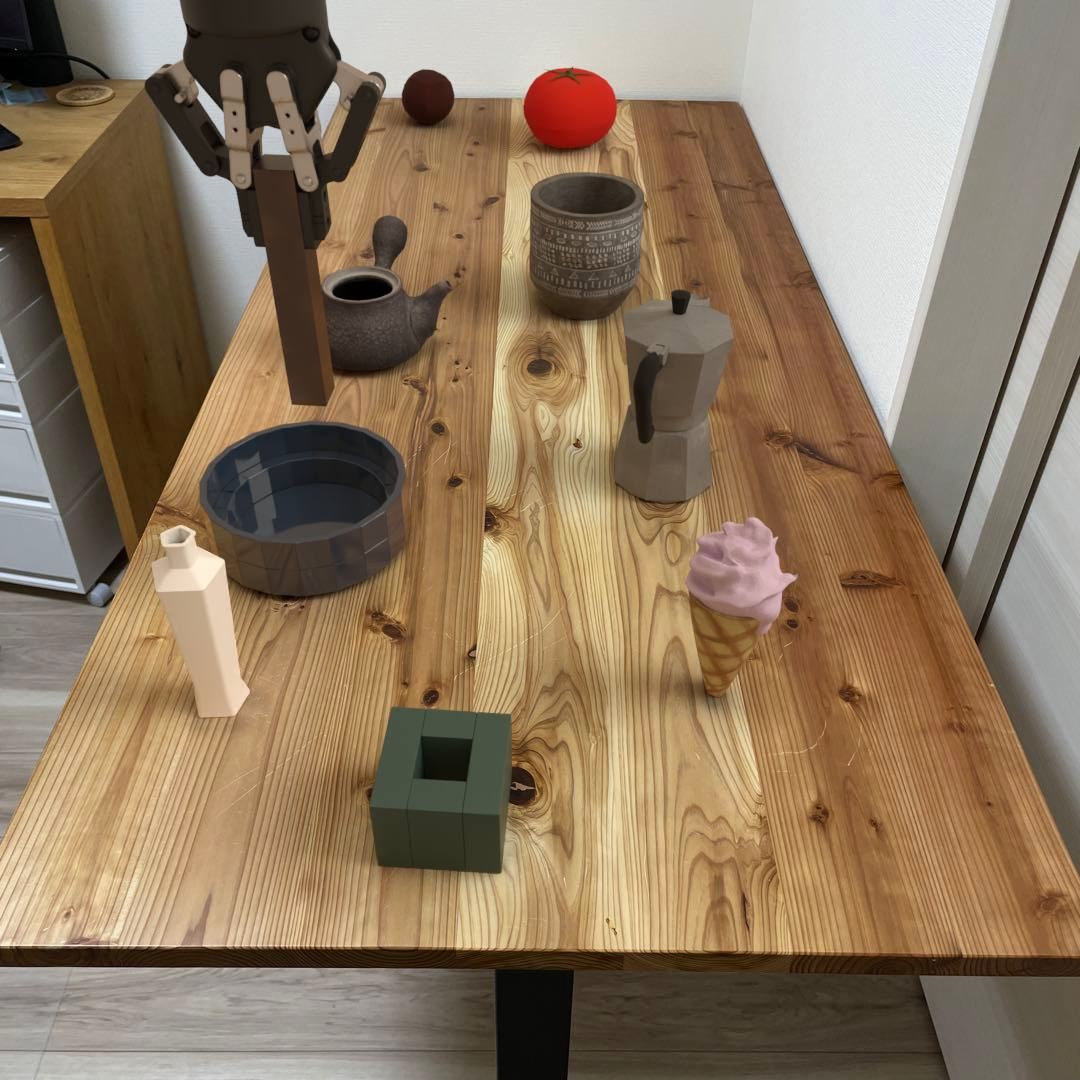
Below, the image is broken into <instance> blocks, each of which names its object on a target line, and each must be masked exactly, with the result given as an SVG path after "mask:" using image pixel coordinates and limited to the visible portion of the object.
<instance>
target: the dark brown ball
mask: <svg viewBox="0 0 1080 1080" xmlns="http://www.w3.org/2000/svg"><path fill="white" fill-rule="evenodd" d="M401 103H402V107H403V110H404V111H405V113H406V114H407V115H408V116H409V117H410V118H411V119H413V120H414V121H416V122H419V123H424V124H428V125H430V124H436V123H439V122H441V121H444V120H445V119H446V118H447V117H448V116H449V115H450V113H451V111H452V109H453V107H454V104H455V91H454V87H453V84H452V82H451V81H450V79H449V78H448V77H447V76H446V75H445V74H443V73H442V72H438V71H437V70H434V69H430V68H429V69H424V68H423V69H419V70H417V71H415V72H413V73H412V74H411V75H410V76H409V77H408V78H407V79H406V81H405V82H404V84H403V88H402V91H401Z"/></svg>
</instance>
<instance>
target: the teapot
mask: <svg viewBox="0 0 1080 1080" xmlns="http://www.w3.org/2000/svg"><path fill="white" fill-rule="evenodd" d="M408 233H409V231H408V226H407V225H406V223H405V222H404V221H403V220H402V219H401V218H399V217H397V216H394V215H389V214H388V215H383V216H381V217H379V218H377V219H376V221H375V223H374V224H373V229H372V234H371V242H372V249H373V252H374V253H373V254H374V264H373V265H355V266H348V267H346V268H342V269H338V270H336V271H333V272H332V273H330V274H328V275H327V276H326V277H325V278H324V279H323V280H322V282H321V289H322V297H323V304H324V311H325V319H326V326H327V334H328V341H329V348H330V356H331V363H332V367H334V368H337V369H341V370H342V369H343V370H349V371H379V370H383V369H388V368H392V367H395V366H398V365H400V364H403V363H405V362H407V361H408V360H409V359H411V358H413V357H415V355H417V354H418V352H419V351H420V350H421V349H422V347H423V346H424V345H425V344H426V342H427V340H428V339H430V338H431V337H432V336H434V334H435V333H436V329H437V325H438V324H437V323H438V318H439V314H440V309H441V307H442V304H443V302H444V301H445V299H446V297H447V296H448V295H449V294H450V293H451V292H452V291H453V290H454V285H453V284H452V283H451V282H450V281H449V280H447V279H442V280H441V281H439V282H437V283H435V284H432V286H430V287H429V288H428V289H426V290H425V291H424V292H423V293H422V294H419V295H416V296H411V295H408V294H407V292H406V290H405V289H404V288H403V285H404V283H403V279H402V278H401V276H400V275H399V274H397V272H395V271H393V270H392V267H393V265H394V263H395V261H396V259H397V258H398V256H399V255H400V254H401V253H402V252H403V251H404V249H405V248H406V246H407V241H408V235H409V234H408Z"/></svg>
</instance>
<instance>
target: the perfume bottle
mask: <svg viewBox="0 0 1080 1080" xmlns="http://www.w3.org/2000/svg"><path fill="white" fill-rule="evenodd" d="M196 534H197V532H196V531H195V530H194V529H192V528H189V527H187V526H186V525H183V524H179V525H176V526H173V527H171V528H169V529H165V530H164V531H161V533H159V536H160V537H159V538H160V542H161V546H162V547H163V548H164V549H165V554H166V555H165V556H163V557H161V558H159V559H157V560H154V561H152V562H151V571H152V578H153V582H154V588H155V589H154V590H155V591H156V594H157V597H158V599H159V601H160V604H161V607H162V609H163V611H164V615H165V616H166V619H167V621H168V624H169V627H170V629H171V631H172V634H173V637H174V639H175V642H176V644H177V646H178V650H179V652H180V655H181V657H182V659H183V662H184V664H185V667H186V670H187V672H188V675H189V677H190V679H191V682H192V685H193V687H194V700H195V704H196V709H197V710H196V711H197V714H198V717H199V718H202V719H204V718H231V717H235V716H236V715H237V714H238V713H239V711H240V710H241V708H242V706H243V704H244V703H245V701H246V699H247V698H248V697H249V695H250V693H251V690H250V688H249V687H248V685H247V684H246V683H245V681H244V680H243V678H242V677H241V669H240V662H239V655H238V649H237V648H238V647H237V642H236V633H235V627H234V618H233V612H232V606H231V604H232V603H231V597H230V591H229V584H228V583H229V582H228V575H227V574H226V568H225V561H224V560H223V559H222V558H220V557H218V556H216V555H214V554H212V552H210V551H207V550H205V548H202V547H200V546H198V545H197V542H196V539H195V536H196Z"/></svg>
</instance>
